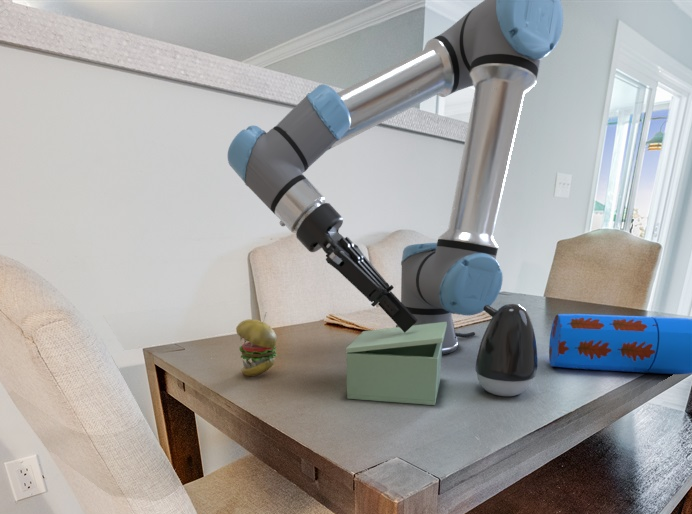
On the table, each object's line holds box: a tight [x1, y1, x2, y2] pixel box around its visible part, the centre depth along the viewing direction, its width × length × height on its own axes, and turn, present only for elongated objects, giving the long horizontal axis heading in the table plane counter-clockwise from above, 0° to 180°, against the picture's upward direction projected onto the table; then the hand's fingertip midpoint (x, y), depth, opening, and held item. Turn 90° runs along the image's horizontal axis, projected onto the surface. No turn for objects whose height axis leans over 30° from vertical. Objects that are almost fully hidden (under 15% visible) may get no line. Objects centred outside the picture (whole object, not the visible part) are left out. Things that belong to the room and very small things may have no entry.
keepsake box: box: [345, 343, 443, 406], centre depth 80 cm, size 15×13×8 cm
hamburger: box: [235, 311, 278, 377], centre depth 86 cm, size 8×7×12 cm
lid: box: [345, 322, 447, 353], centre depth 78 cm, size 15×13×1 cm
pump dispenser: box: [474, 303, 538, 397], centre depth 78 cm, size 10×10×15 cm
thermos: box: [548, 313, 692, 375], centre depth 91 cm, size 11×11×25 cm
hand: (411, 326), depth 77 cm, fingers closed
